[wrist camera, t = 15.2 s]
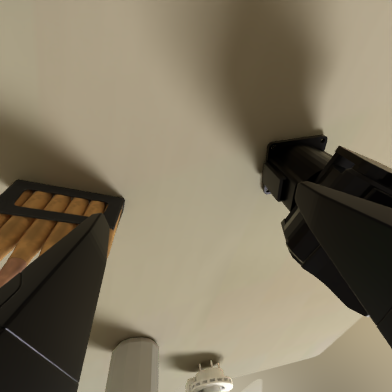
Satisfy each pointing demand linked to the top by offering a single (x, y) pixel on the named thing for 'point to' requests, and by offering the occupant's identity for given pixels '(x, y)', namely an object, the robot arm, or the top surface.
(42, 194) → the ammunition clip
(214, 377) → the mechanical part
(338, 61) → the top surface
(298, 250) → the robot arm
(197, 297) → the top surface
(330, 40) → the top surface
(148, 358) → the jar
